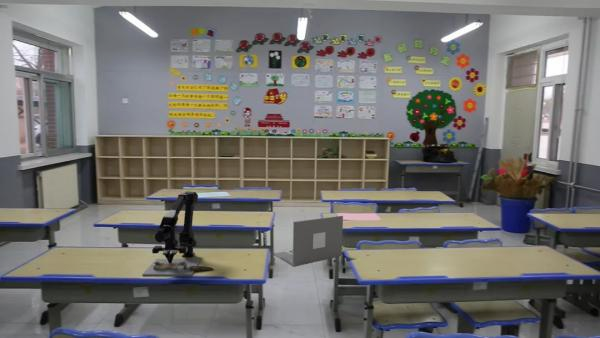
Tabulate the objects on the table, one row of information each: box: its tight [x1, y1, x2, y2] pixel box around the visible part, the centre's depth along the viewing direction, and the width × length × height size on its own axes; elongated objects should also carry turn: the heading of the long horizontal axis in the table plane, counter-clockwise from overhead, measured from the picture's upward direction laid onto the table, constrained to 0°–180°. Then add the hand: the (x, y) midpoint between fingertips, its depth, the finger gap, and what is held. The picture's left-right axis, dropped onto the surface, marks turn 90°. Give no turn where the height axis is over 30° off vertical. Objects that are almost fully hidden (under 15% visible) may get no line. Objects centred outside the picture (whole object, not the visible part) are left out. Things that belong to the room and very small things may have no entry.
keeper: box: [178, 262, 186, 271], centre depth 230 cm, size 6×3×3 cm, turn 2°
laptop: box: [273, 215, 344, 268], centre depth 258 cm, size 35×26×27 cm
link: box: [153, 262, 187, 269], centre depth 232 cm, size 18×4×3 cm, turn 96°
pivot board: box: [142, 258, 202, 277], centre depth 235 cm, size 25×26×1 cm
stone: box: [190, 265, 214, 272], centre depth 232 cm, size 13×5×2 cm, turn 103°
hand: (170, 264), depth 237 cm, fingers closed
